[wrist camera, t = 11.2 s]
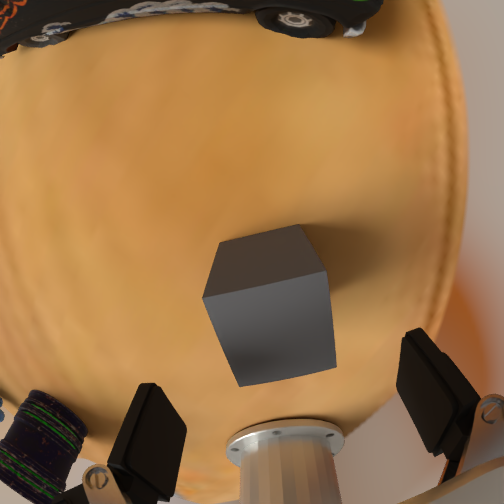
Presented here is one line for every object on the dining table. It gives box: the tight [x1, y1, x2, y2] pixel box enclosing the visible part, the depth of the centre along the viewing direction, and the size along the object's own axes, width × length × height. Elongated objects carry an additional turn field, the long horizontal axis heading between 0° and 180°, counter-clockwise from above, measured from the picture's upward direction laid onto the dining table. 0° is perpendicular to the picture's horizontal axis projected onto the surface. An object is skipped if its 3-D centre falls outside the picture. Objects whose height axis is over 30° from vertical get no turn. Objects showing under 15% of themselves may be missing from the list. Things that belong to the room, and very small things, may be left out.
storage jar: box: [0, 390, 88, 504], centre depth 17 cm, size 10×10×15 cm
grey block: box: [202, 224, 337, 387], centre depth 13 cm, size 5×4×6 cm
